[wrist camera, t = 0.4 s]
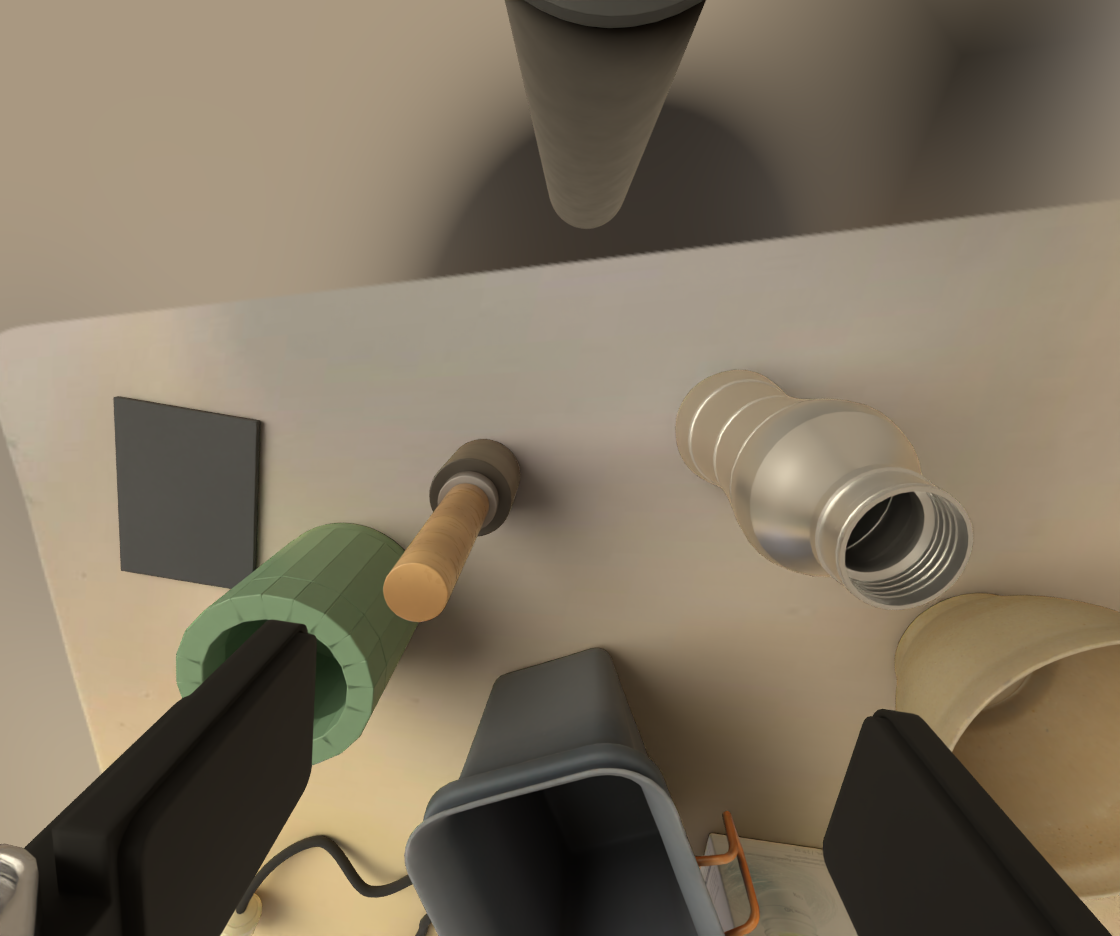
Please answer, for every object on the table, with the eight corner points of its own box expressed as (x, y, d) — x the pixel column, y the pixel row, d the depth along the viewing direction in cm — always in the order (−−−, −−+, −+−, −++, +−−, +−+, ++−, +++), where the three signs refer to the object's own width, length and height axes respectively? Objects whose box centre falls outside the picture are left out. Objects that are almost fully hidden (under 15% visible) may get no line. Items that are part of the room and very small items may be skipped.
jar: (278, 510, 37) (173, 579, 27) (431, 536, 37) (381, 613, 27) (273, 644, 40) (176, 750, 30) (416, 668, 40) (365, 780, 30)
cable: (295, 786, 43) (271, 826, 40) (478, 878, 45) (471, 924, 42) (215, 914, 47) (188, 960, 43) (388, 993, 48) (375, 1043, 45)
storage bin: (444, 654, 39) (374, 836, 26) (655, 588, 38) (702, 745, 24) (550, 876, 44) (538, 1128, 31) (740, 827, 43) (819, 1072, 29)
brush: (453, 433, 35) (357, 524, 20) (525, 445, 35) (485, 545, 20) (445, 501, 36) (348, 637, 21) (514, 513, 37) (469, 657, 21)
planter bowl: (821, 582, 37) (917, 687, 27) (1076, 516, 35) (1286, 600, 25) (862, 773, 41) (960, 930, 31) (1094, 722, 39) (1282, 870, 29)
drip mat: (118, 396, 35) (112, 397, 35) (260, 420, 35) (256, 421, 35) (125, 568, 38) (120, 570, 38) (255, 589, 39) (252, 592, 38)
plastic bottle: (652, 453, 35) (745, 620, 16) (693, 350, 33) (853, 395, 14) (747, 486, 36) (950, 687, 16) (793, 385, 34) (1080, 475, 15)
